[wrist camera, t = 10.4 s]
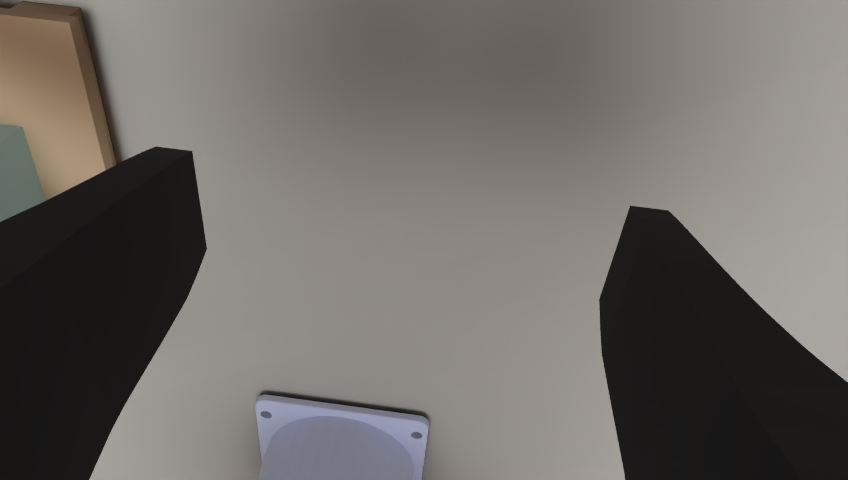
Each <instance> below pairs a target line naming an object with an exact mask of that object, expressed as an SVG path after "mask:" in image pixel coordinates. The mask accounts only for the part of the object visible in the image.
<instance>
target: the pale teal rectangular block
mask: <svg viewBox="0 0 848 480" xmlns="http://www.w3.org/2000/svg"><path fill="white" fill-rule="evenodd" d="M44 201H46V199H45V195H44V192H43V189H42V186H41V183H40V180H39V177H38V174H37V171H36V167H35V164H34V161H33V158H32V155H31V152H30V149H29V146H28V142H27V139H26V136H25V133H24V130H23V127H21V126H13V125H5V124H0V222H1V221H3V220H5V219H7V218H10V217H12V216H14V215H16V214H18V213H20V212H23V211H25V210H27V209H29V208H31V207H33V206H36V205H38V204H40V203H42V202H44Z"/></svg>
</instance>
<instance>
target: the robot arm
mask: <svg viewBox="0 0 848 480" xmlns="http://www.w3.org/2000/svg"><path fill="white" fill-rule="evenodd" d="M206 250H207V247H206V240H205V234H204V227H203V220H202V214H201V207H200V201H199V194H198V187H197V181H196V174H195V168H194V161H193V154H192V151H186V150H178V149H170V148H162V147H154V148H152V149H149V150H146V151H144V152H142V153H140V154H137V155H135V156H133V157H131V158H129V159H127V160H125V161H123V162H121V163H119V164H117V165H115V166H113V167H111V168H109V169H107V170H105V171H103V172H101V173H99V174H97V175H96V176H94V177H92V178H90V179H88V180H86V181H84V182H82V183H80V184H78V185H76V186H74V187H72V188H70V189H68V190H66V191H64V192H62V193H60V194H58V195H56V196H54V197H52V198H50V199H48V200H46V201H44V202H42V203H40V204H38V205H36V206H33V207H31V208H29V209H27V210H25V211H23V212H20V213H18V214H16V215H14V216H12V217H10V218H7V219H5V220H3V221H1V222H0V480H89V479H90V476H91V474H92V472H93V470H94V467H95V465H96V463H97V461H98V459H99V456H100V454H101V452H102V450H103V447H104V445H105V443H106V441H107V439H108V436H109V434H110V432H111V430H112V428H113V426H114V424H115V422H116V420H117V418H118V416H119V415H120V413H121V411H122V409H123V407H124V405H125V403H126V402H127V400H128V398H129V397H130V395H131V393H132V391H133V390H134V388H135V386H136V385H137V383H138V381H139V380H140V378H141V376H142V375H143V373H144V371H145V369H146V368H147V366H148V364H149V363H150V361H151V359H152V358H153V356H154V354H155V353H156V351H157V349H158V347H159V346H160V344H161V342H162V341H163V339H164V337H165V336H166V334H167V332H168V330H169V329H170V327H171V325H172V324H173V322H174V320H175V318H176V317H177V315H178V313H179V311H180V310H181V308H182V306H183V304H184V303H185V301H186V299H187V297H188V295H189V292H190V290H191V288H192V285H193V283H194V280H195V278H196V276H197V273H198V271H199V268H200V265H201V263H202V260H203V257H204V255H205V252H206ZM599 302H600V330H601V346H602V356H603V362H604V368H605V373H606V378H607V384H608V389H609V395H610V400H611V405H612V410H613V416H614V421H615V426H616V431H617V436H618V442H619V447H620V452H621V457H622V462H623V468H624V473H625V480H848V382H846V381H845V380H844V379H843V378H841V377H840V376H839V375H838V374H836V373H835V372H834V371H833V370H831V369H830V368H829V367H828V366H826V365H825V364H824V363H822V362H821V361H820V360H819V359H818V358H816V357H815V356H814V355H813V354H812V353H811V352H809V351H808V350H807V349H806V348H805V347H804V346H802V345H801V344H800V343H799V342H798V341H797V340H796V339H795V338H793V337H792V336H791V335H790V334H789V333H788V332H787V331H786V330H785V329H784V328H783V327H782V326H780V325H779V324H778V323H777V322H776V321H775V320H774V319H773V318H772V317H771V316H770V315H769V314H767V313H766V312H765V311H764V310H763V309H762V308H761V307H760V306H759V305H758V304H757V303H756V302H755V301H754V300H753V299H752V298H751V297H750V296H749V295H748V294H747V293H746V292H745V291H744V290H743V289H742V288H741V287H740V286H739V285H738V284H737V283H736V282H735V280H734V279H733V278H732V277H731V276H730V275H729V274H728V273H727V272H726V271H725V270H724V269H723V268H722V267H721V266H720V265H719V264H718V263H717V261H716V260H715V259H714V258H713V257H712V256H711V255H710V254H709V253H708V252H707V251H706V250H705V248H704V247H703V246H702V245H701V244H700V243H699V242H698V241H697V240H696V239H695V238H694V237H693V235H692V234H691V233H690V232H689V231H688V230H687V229H686V228H685V227H684V226H683V225H682V224H681V223H680V222H679V221H678V220H677V218H676V217H674V216H673V215H672V214H671V213H670V212H669V211H667V210H659V209H651V208H643V207H635V206H630V208H629V211H628V214H627V217H626V220H625V223H624V226H623V229H622V232H621V236H620V239H619V242H618V245H617V248H616V251H615V254H614V257H613V260H612V263H611V266H610V269H609V272H608V275H607V278H606V281H605V284H604V287H603V290H602V293H601V296H600V299H599ZM255 409H256V418H257V427H258V435H259V444H260V452H261V461H262V465H261V468H260V471H259V474H258V477H257V480H422V472H423V465H424V458H425V451H426V443H427V436H428V429H429V421H428V420H427V419H426V418H425V417H423V416H419V415H412V414H405V413H398V412H390V411H383V410H376V409H368V408H361V407H354V406H346V405H339V404H332V403H324V402H317V401H310V400H302V399H295V398H288V397H281V396H273V395H261V396H259V397H258V398H257V401H256V403H255Z"/></svg>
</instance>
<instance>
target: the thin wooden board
mask: <svg viewBox="0 0 848 480" xmlns="http://www.w3.org/2000/svg"><path fill="white" fill-rule="evenodd" d="M0 124H5V125H13V126H21V127H23V130H24V133H25V136H26V139H27V142H28V146H29V149H30V152H31V155H32V158H33V161H34V164H35V167H36V171H37V174H38V177H39V180H40V183H41V186H42V189H43V192H44V195H45V199H46V200H48V199H50V198H52V197H54V196H56V195H58V194H60V193H62V192H64V191H66V190H68V189H70V188H72V187H74V186H76V185H78V184H80V183H82V182H84V181H86V180H88V179H90V178H92V177H94V176H96V175H97V174H99V173H101V172H103V171H105V170H107V169H109V168H111V167H113V166H115V165H117V164H116V160H115V155H114V151H113V147H112V142H111V138H110V134H109V130H108V125H107V121H106V117H105V113H104V108H103V104H102V100H101V95H100V91H99V87H98V83H97V78H96V74H95V70H94V66H93V61H92V57H91V53H90V48H89V44H88V40H87V36H86V31H85V27H84V23H83V19H82V14H81V10H80V8H75V7H67V6H59V5H50V4H42V3H33V2H25V1H23V2H21V3H19V4H17V5H15V6H13V7H12V8H10V9H7V8H0Z"/></svg>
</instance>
